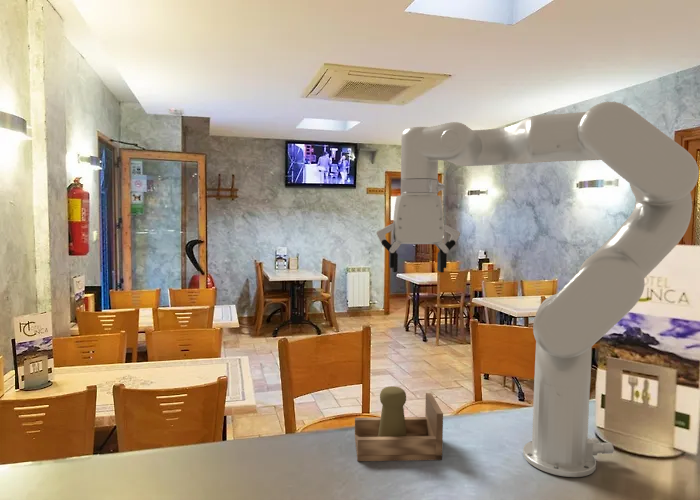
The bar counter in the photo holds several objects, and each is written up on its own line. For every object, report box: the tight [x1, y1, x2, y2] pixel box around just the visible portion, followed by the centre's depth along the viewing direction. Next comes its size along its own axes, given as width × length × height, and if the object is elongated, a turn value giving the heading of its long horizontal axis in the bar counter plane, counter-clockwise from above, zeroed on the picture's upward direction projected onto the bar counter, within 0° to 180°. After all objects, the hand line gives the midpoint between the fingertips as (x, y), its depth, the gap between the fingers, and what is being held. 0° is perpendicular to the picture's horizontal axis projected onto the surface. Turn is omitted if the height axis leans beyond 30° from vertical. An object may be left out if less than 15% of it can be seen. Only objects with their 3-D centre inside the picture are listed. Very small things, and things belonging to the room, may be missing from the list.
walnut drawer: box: [354, 392, 444, 462], centre depth 95 cm, size 16×10×9 cm, turn 92°
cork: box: [378, 385, 407, 437], centre depth 95 cm, size 6×6×11 cm
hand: (417, 271), depth 100 cm, fingers open, 9 cm apart
